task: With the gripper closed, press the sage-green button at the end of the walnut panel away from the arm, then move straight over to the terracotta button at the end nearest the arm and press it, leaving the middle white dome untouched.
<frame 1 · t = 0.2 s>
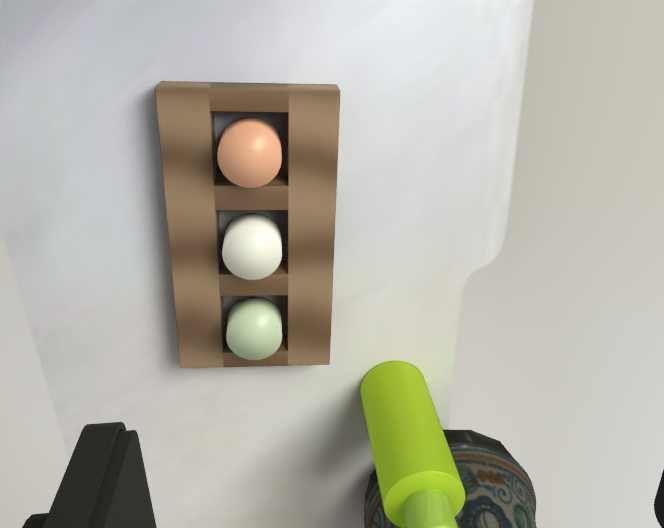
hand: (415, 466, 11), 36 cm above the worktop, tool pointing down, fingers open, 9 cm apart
white dome: (252, 246, 45), point 3 cm above the worktop, slide at 0.0 cm
button panel: (253, 229, 48), on the worktop
beer stein: (427, 487, 62), on the worktop
button terracotta: (250, 152, 42), point 3 cm above the worktop, slide at 0.0 cm
soap dispenser: (391, 390, 56), on the worktop
button sage: (254, 328, 48), point 3 cm above the worktop, slide at 0.0 cm
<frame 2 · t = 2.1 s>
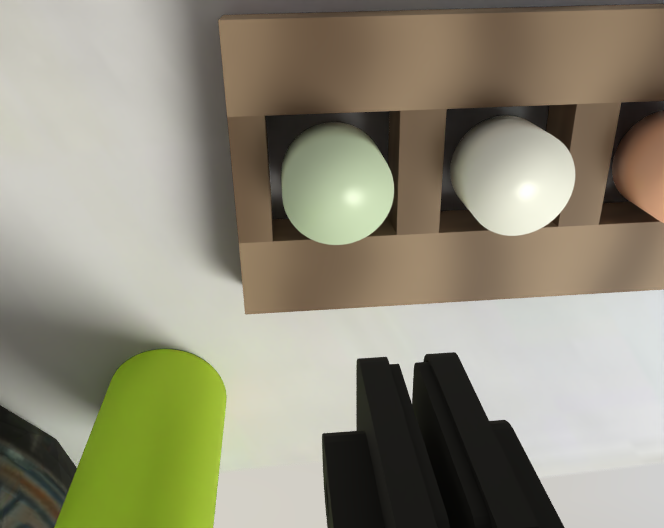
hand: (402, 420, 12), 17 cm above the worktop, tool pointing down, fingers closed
white dome: (509, 175, 25), point 3 cm above the worktop, slide at 0.0 cm
button panel: (486, 154, 27), on the worktop
soap dispenser: (158, 394, 32), on the worktop
button sage: (335, 183, 24), point 3 cm above the worktop, slide at 0.0 cm
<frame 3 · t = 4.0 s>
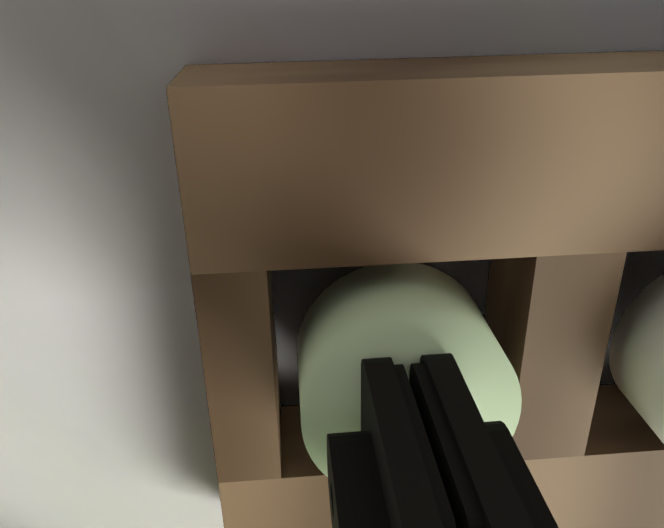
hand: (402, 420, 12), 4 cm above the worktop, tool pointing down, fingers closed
button panel: (656, 299, 16), on the worktop
button sage: (400, 378, 13), point 3 cm above the worktop, slide at 0.4 cm, touching gripper
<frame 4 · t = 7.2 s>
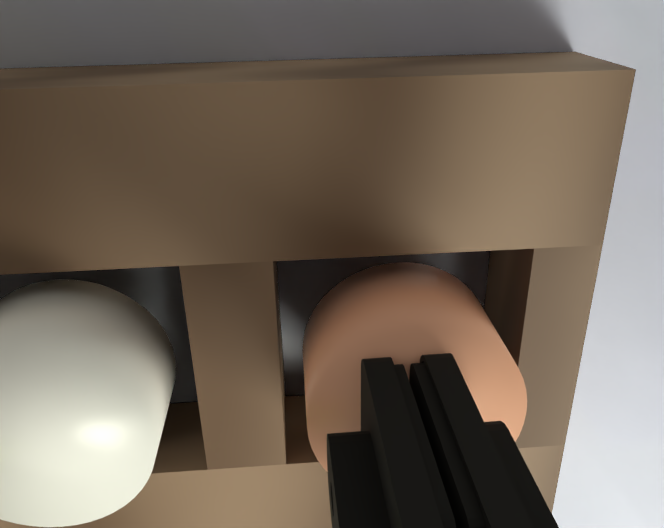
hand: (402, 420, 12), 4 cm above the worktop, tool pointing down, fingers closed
white dome: (59, 401, 12), point 3 cm above the worktop, slide at 0.0 cm
button panel: (99, 322, 15), on the worktop
button terracotta: (405, 379, 13), point 3 cm above the worktop, slide at 0.0 cm, touching gripper
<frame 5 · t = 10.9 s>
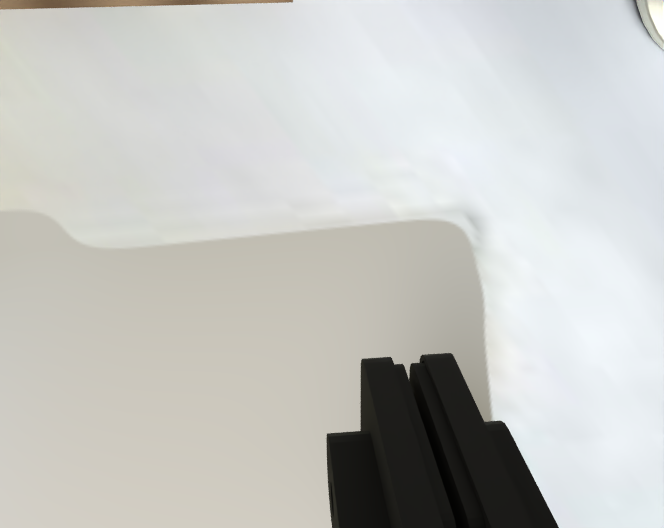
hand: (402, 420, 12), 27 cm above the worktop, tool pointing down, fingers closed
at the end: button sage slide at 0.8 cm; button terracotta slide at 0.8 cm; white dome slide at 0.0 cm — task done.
